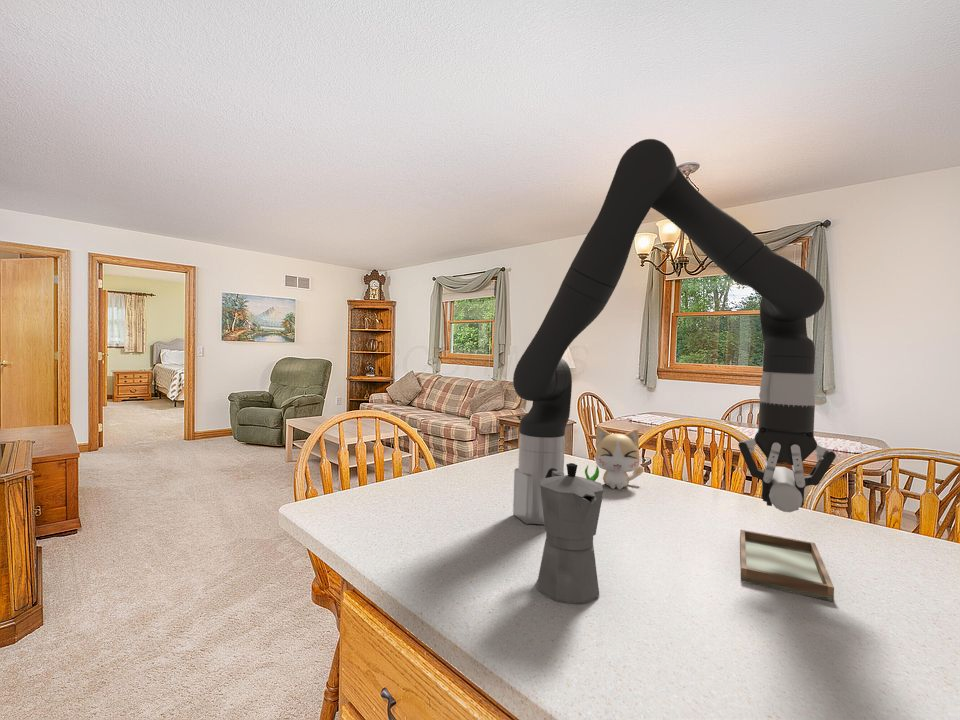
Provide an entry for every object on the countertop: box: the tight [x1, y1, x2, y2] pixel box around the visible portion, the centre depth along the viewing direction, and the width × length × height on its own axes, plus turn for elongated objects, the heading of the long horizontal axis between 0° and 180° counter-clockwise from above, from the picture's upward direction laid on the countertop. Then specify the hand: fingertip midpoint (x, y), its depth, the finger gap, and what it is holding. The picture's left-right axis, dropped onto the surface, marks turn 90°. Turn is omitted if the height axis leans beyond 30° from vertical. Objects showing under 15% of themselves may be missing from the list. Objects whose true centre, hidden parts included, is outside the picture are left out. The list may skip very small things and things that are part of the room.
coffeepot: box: [536, 462, 605, 605], centre depth 69 cm, size 15×9×18 cm, turn 13°
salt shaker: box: [760, 465, 803, 513], centre depth 77 cm, size 6×6×13 cm
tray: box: [739, 529, 835, 603], centre depth 77 cm, size 18×11×2 cm, turn 151°
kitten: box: [584, 426, 644, 491], centre depth 122 cm, size 15×10×15 cm, turn 76°
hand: (782, 506), depth 77 cm, fingers closed on salt shaker, 3 cm apart
